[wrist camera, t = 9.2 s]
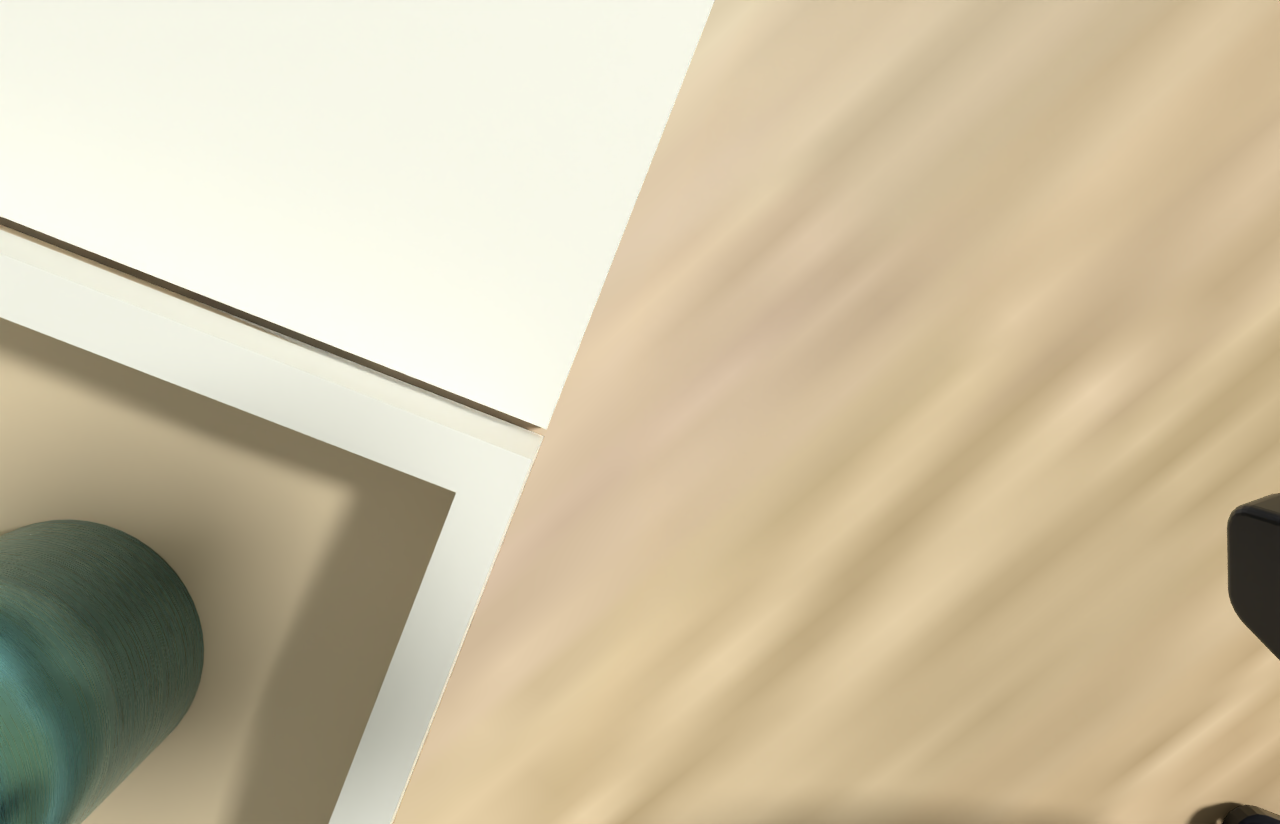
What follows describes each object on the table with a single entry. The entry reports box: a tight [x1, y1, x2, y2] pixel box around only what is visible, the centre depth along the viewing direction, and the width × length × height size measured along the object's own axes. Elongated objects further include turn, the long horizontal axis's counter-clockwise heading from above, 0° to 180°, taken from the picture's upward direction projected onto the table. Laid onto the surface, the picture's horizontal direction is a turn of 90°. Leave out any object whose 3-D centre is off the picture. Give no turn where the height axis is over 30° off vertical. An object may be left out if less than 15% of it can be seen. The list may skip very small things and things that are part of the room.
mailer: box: [0, 0, 715, 824], centre depth 20 cm, size 14×28×3 cm, turn 158°
